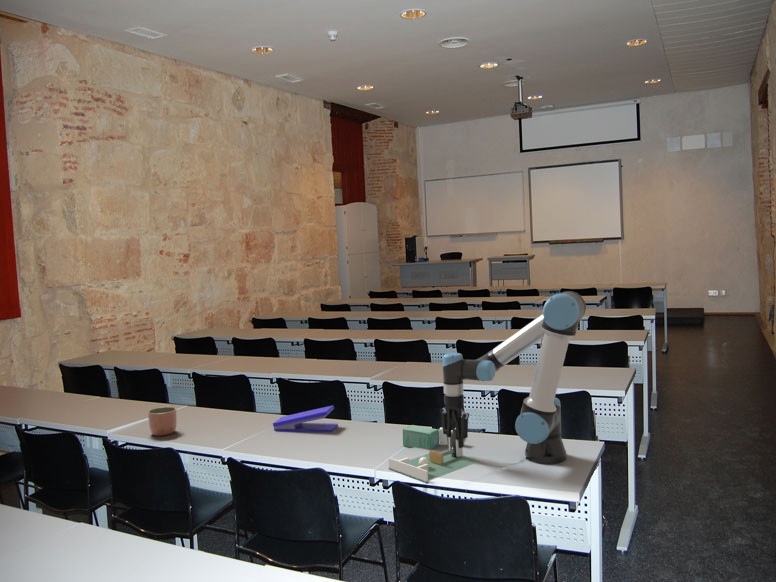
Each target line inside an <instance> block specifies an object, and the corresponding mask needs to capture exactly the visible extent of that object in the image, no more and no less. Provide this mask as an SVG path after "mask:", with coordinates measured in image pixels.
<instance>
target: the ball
mask: <svg viewBox="0 0 776 582" xmlns="http://www.w3.org/2000/svg"><path fill="white" fill-rule="evenodd" d="M424 464H428V466H429V464H430V462H429V459H428V458H426V457H422V458H420V459H419V466H421V465H424Z"/></svg>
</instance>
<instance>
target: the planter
mask: <svg viewBox="0 0 776 582" xmlns="http://www.w3.org/2000/svg"><path fill="white" fill-rule="evenodd" d="M147 418H148V426H149V430H150V433H151V434H152V435H153V436H157V437H159V436H161V437H163V436H168V435H170V434H173V433H174V432H175V431H176V429H177V423H178V422H177V421H178V420H177V419H178V418H177V408H176V407H174V406H161V407H155V408H152V409H149V410H148V411H147Z"/></svg>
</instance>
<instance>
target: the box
mask: <svg viewBox="0 0 776 582" xmlns="http://www.w3.org/2000/svg"><path fill="white" fill-rule="evenodd" d="M402 446H403V447H405V448H406V447H408V448H413V449H414V448H419V449H420V448H421V449H425V450H433V449H434V448H435V447H438V446H440V434H439V429H438V428H437V429H436V428H430V427H426V426H425V427H424V426H420V425H415V424H411V425H408V426H407V427H404V428H402Z"/></svg>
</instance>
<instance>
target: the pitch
mask: <svg viewBox="0 0 776 582" xmlns="http://www.w3.org/2000/svg"><path fill="white" fill-rule="evenodd" d="M445 450H446V449H443V448H442V449H438V450H436V451H437V452H442V451H445ZM422 457H426V458H428V459H429V462H430V464H429V466H428V464H424V465H421V466H419V459H420V458H422ZM387 461H388V470H389V471H391V472H395V473H396V474H400V475H403V476H406V477H409V478H411V479H414V480H416V481H419V482H421V483H425V484H430V482H429V481H432V480H434V479H436V478H440V477H442V476H445V475H447V474H450V473H452V472H455V471H457V470H458V471H459V470H460V469H463V468H465V467H468V466H470V465H473V464H477V463H478V462H481V460H480V459H475V458H473V457H469V456H466V455H464V454H463V455H462V456H459V457H453V456H452V454H449V455H446V456H444V457H443V465H440V464H437V463H434V462H431V461H430V456H429V453H427V454H426V453H425V454H424V455H421V456H418V457H415V458H412V459H410V457H407V456H406V457H404V458H401V459H394V458H392V457H388V459H387Z"/></svg>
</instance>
